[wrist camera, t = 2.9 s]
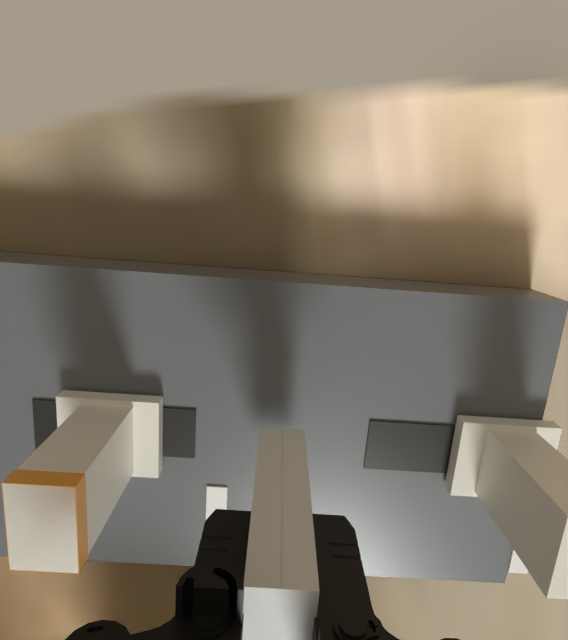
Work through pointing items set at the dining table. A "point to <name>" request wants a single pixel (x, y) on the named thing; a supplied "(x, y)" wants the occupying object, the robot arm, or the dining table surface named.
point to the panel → (280, 395)
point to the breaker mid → (79, 477)
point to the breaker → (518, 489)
